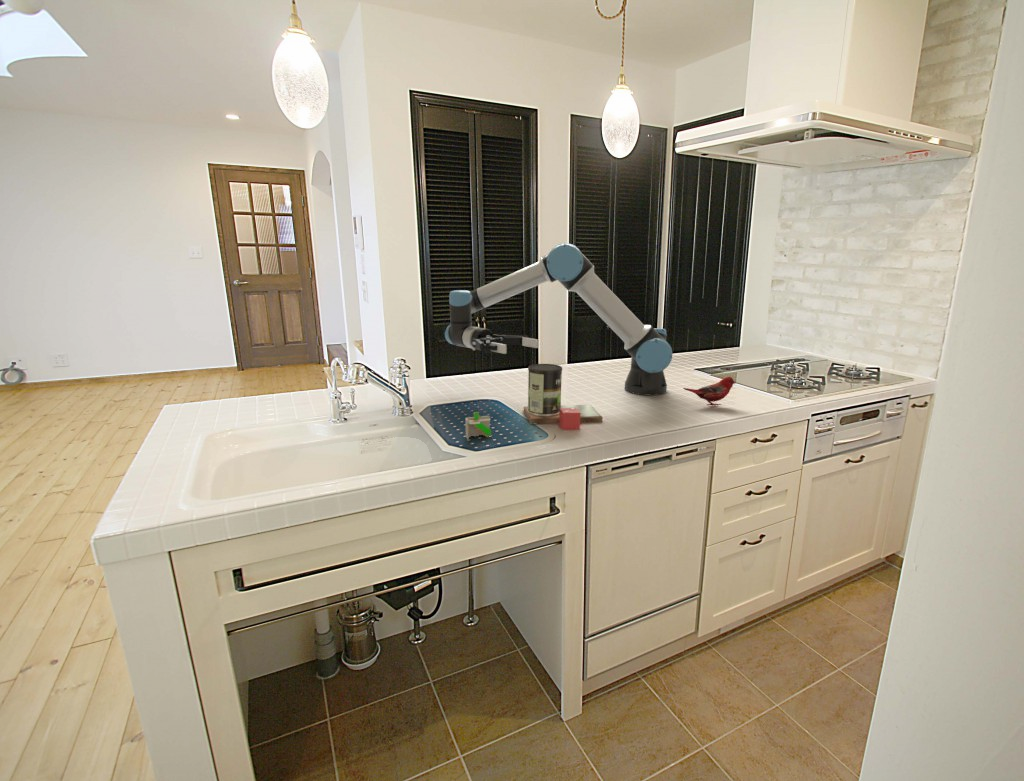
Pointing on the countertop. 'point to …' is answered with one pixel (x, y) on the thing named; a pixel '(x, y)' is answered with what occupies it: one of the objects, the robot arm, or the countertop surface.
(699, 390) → the decorative bird figurine
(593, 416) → the green brown wooden board
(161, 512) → the countertop surface
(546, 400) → the coffee can
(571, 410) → the red cube
